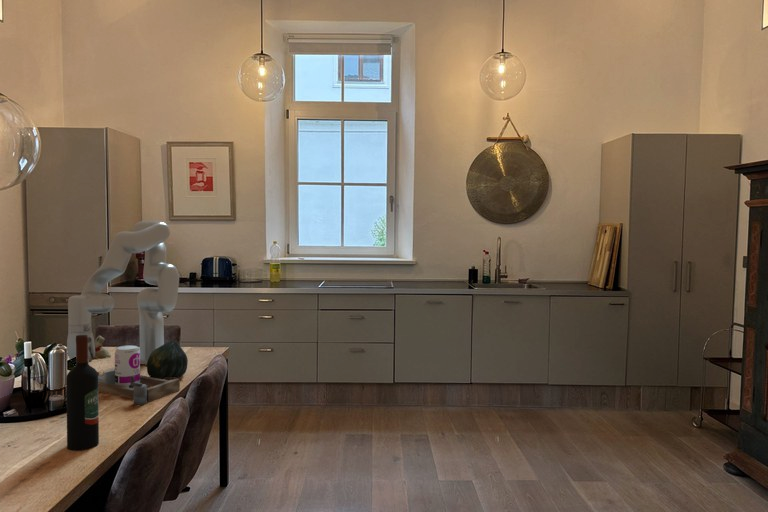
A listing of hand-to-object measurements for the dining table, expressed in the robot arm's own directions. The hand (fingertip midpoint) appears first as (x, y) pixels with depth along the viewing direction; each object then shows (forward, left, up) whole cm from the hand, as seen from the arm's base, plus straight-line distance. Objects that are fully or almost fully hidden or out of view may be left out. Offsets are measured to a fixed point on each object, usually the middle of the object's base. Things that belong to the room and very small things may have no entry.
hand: (80, 376), depth 208 cm
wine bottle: (+41, +54, -1) cm, 68 cm away
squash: (-17, +26, -1) cm, 31 cm away
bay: (+2, +30, -1) cm, 30 cm away
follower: (0, +12, -1) cm, 12 cm away
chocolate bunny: (-26, -22, -1) cm, 34 cm away
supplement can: (0, +24, -1) cm, 24 cm away
